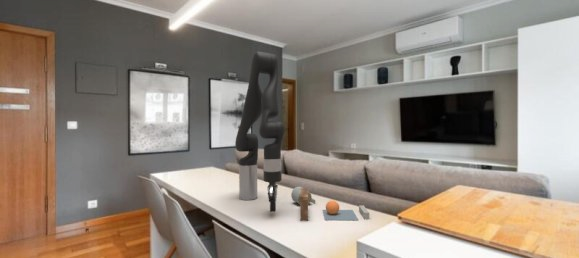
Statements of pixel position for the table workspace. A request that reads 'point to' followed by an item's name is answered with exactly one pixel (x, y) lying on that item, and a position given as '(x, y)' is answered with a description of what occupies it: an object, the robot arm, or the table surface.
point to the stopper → (364, 212)
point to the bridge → (303, 204)
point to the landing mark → (340, 215)
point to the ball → (332, 207)
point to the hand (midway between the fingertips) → (272, 211)
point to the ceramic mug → (296, 195)
